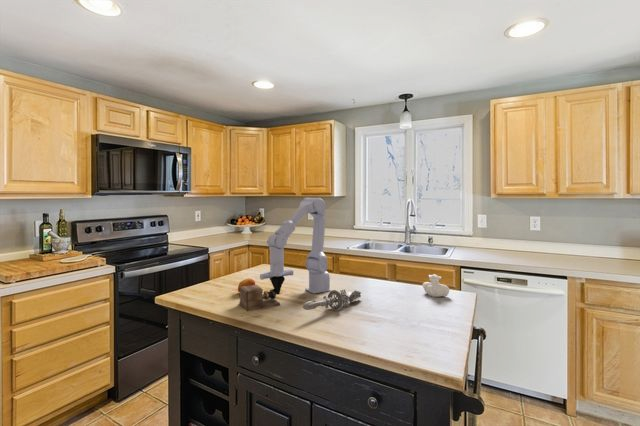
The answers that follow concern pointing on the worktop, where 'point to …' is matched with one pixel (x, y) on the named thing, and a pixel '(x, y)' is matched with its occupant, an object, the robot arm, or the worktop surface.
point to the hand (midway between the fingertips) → (277, 293)
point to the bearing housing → (255, 298)
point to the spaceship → (334, 300)
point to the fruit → (246, 283)
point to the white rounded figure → (435, 287)
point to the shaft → (269, 294)
